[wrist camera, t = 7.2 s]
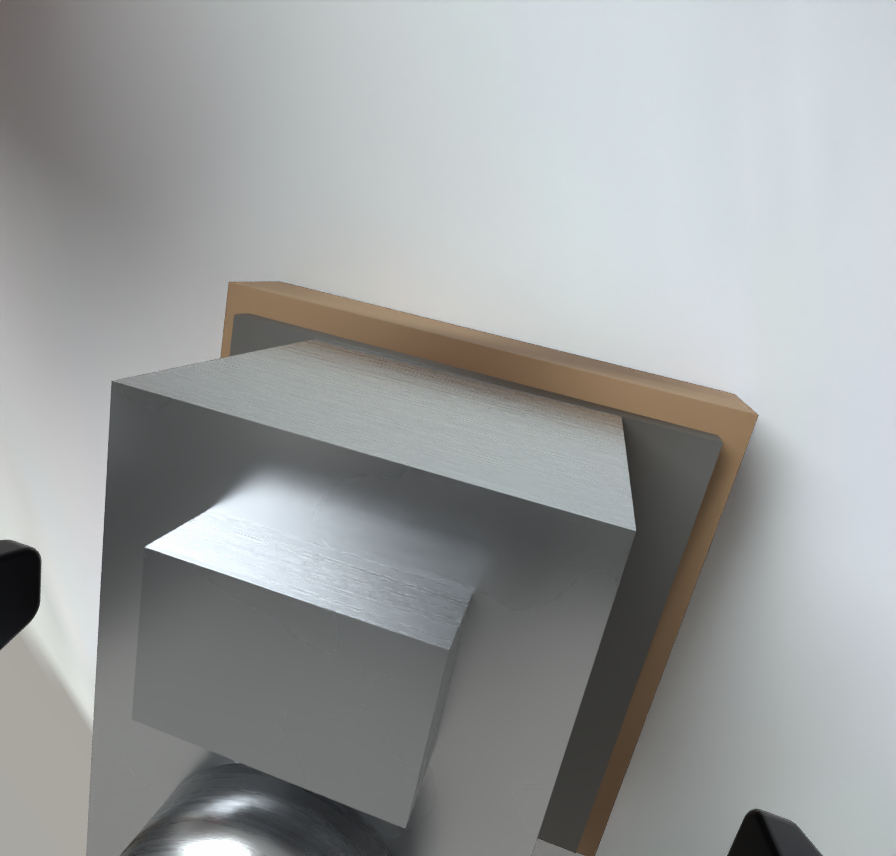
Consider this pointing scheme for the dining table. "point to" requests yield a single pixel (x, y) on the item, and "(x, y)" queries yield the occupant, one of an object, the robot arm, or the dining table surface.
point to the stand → (652, 488)
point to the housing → (345, 606)
